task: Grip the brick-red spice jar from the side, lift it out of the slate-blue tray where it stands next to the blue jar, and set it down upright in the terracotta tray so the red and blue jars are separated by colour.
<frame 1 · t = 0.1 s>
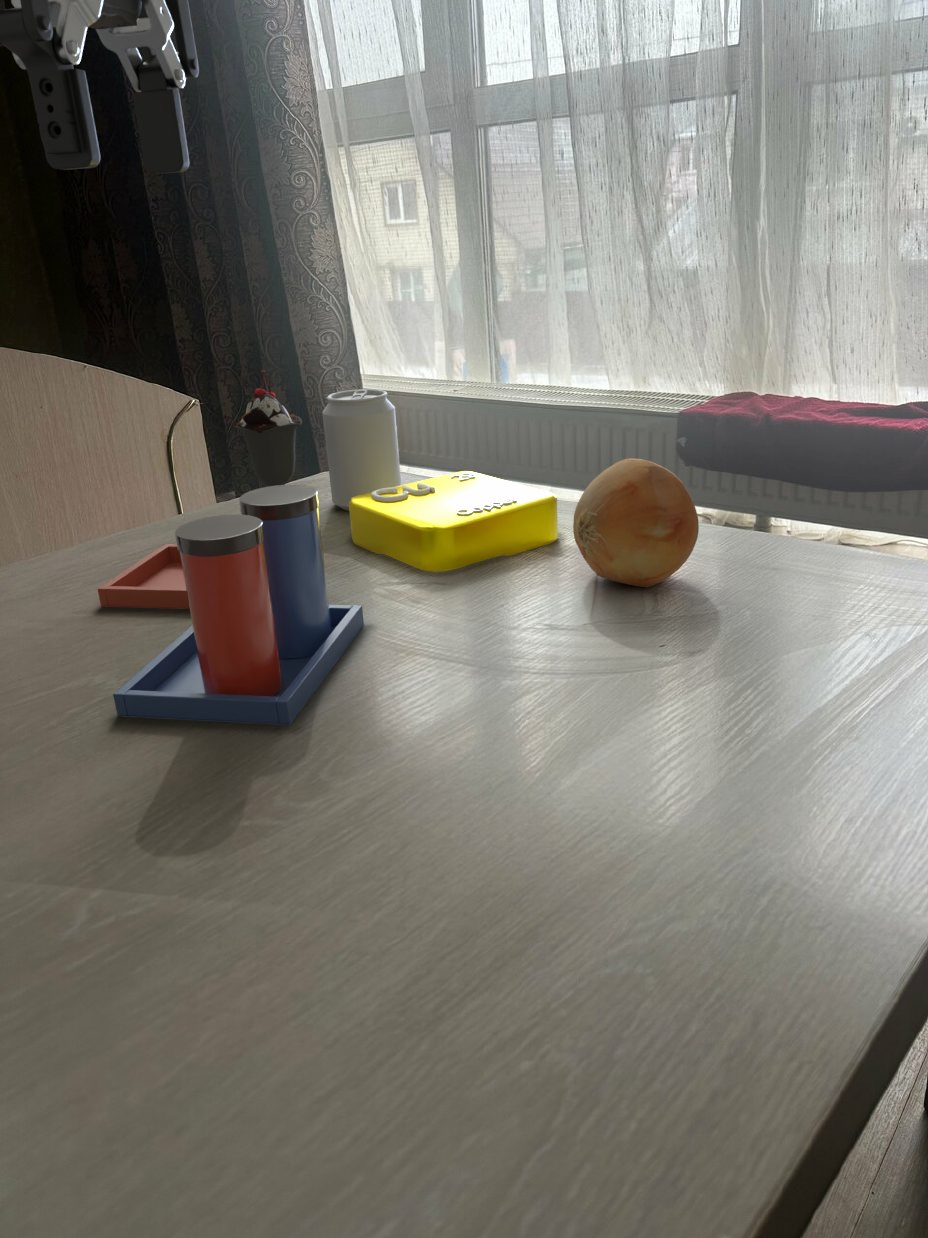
hand: (125, 170, 46), 31 cm above the table, tool pointing down, fingers open, 8 cm apart
blue tray: (252, 673, 66), on the table
red tray: (203, 589, 82), on the table
sundae: (281, 520, 101), on the table
onion: (633, 584, 78), on the table
blue jar: (298, 644, 69), point 1 cm above the table, touching blue tray
can: (368, 507, 104), on the table
red jar: (244, 689, 63), point 1 cm above the table, touching blue tray
element tile: (454, 543, 91), on the table
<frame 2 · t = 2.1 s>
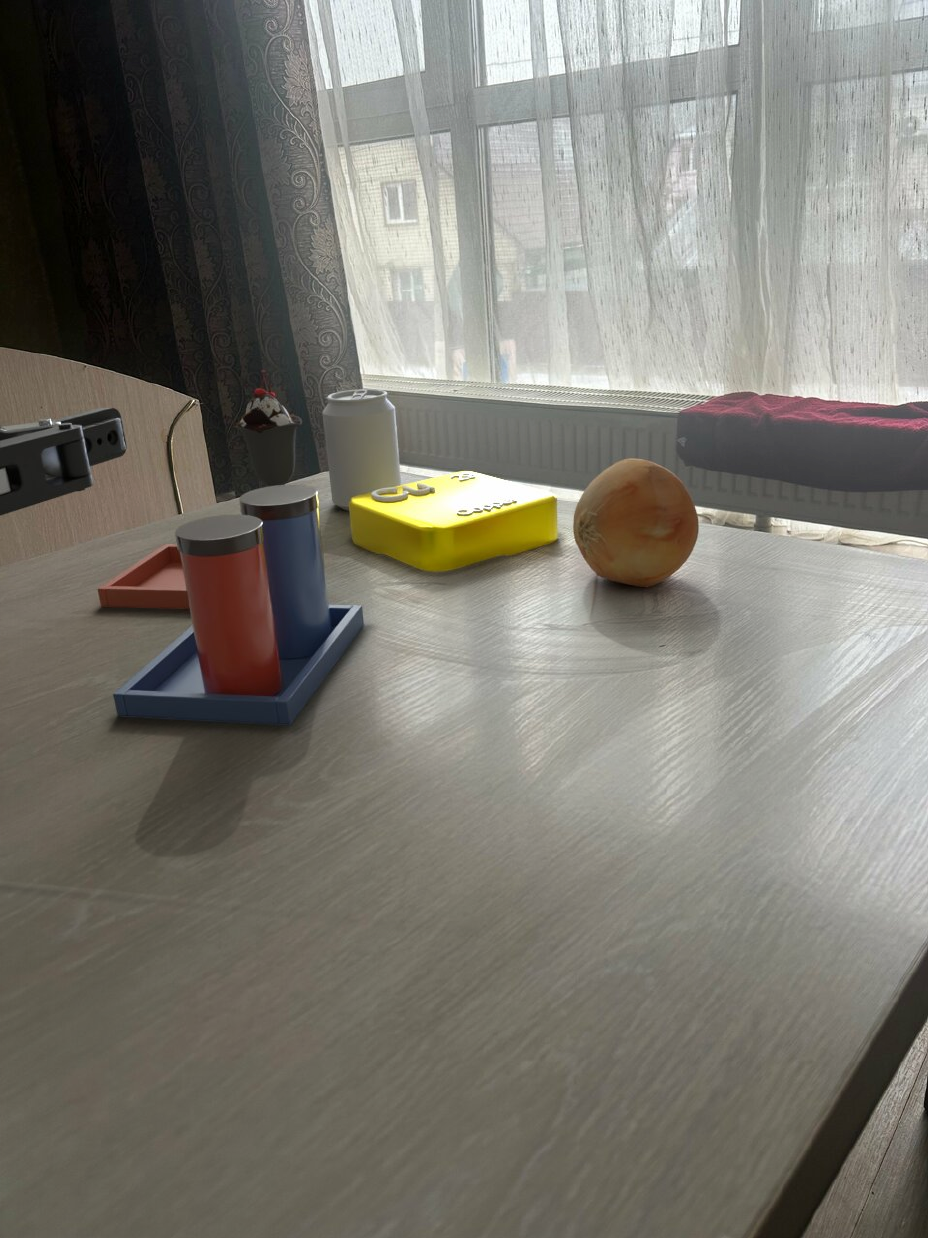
hand: (49, 427, 46), 20 cm above the table, tool horizontal, fingers open, 8 cm apart
nothing on the table moved.
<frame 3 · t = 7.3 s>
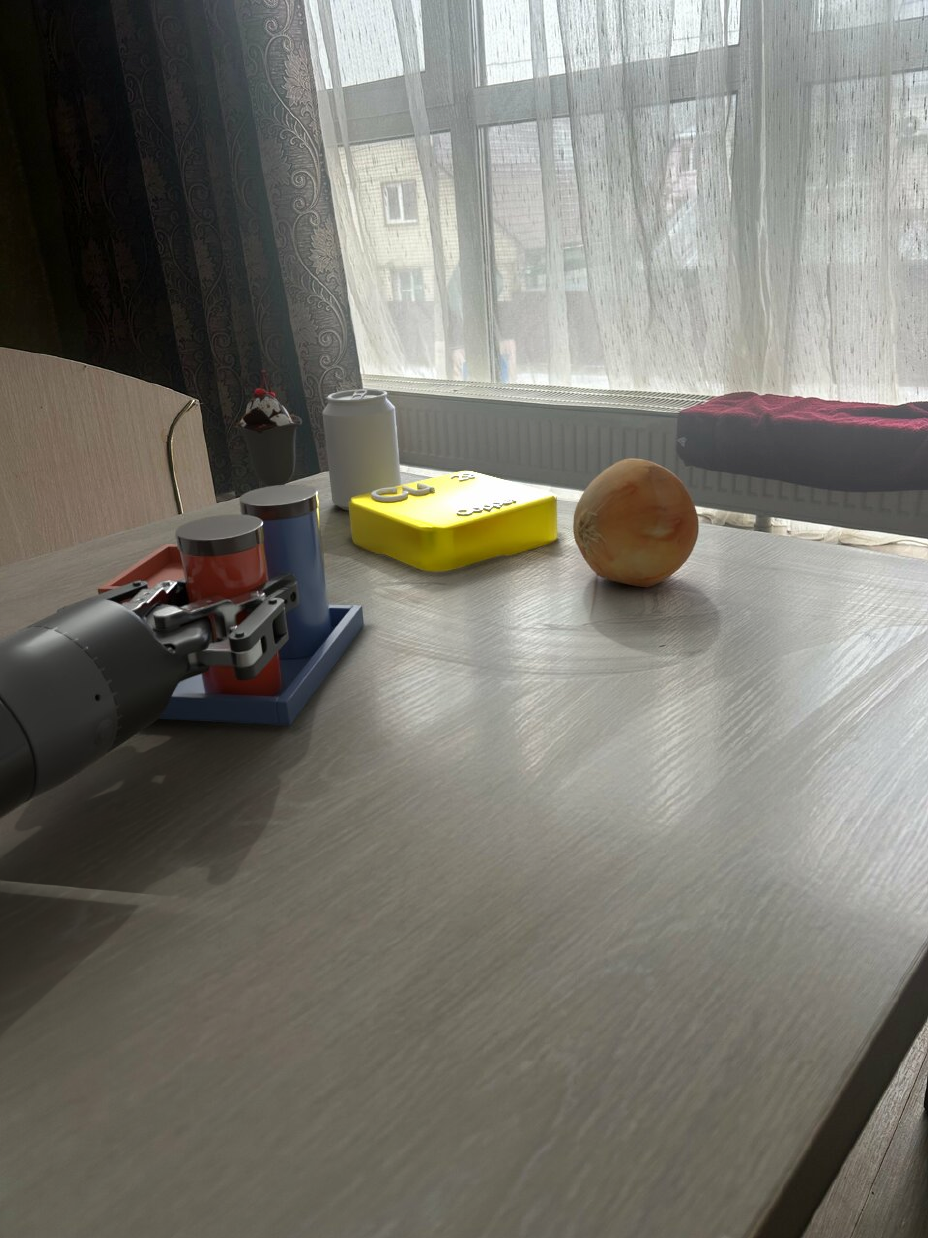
hand: (254, 583, 62), 7 cm above the table, tool horizontal, fingers closed on red jar, 5 cm apart
red jar: (244, 689, 63), point 1 cm above the table, touching blue tray, gripper
everything else where it was.
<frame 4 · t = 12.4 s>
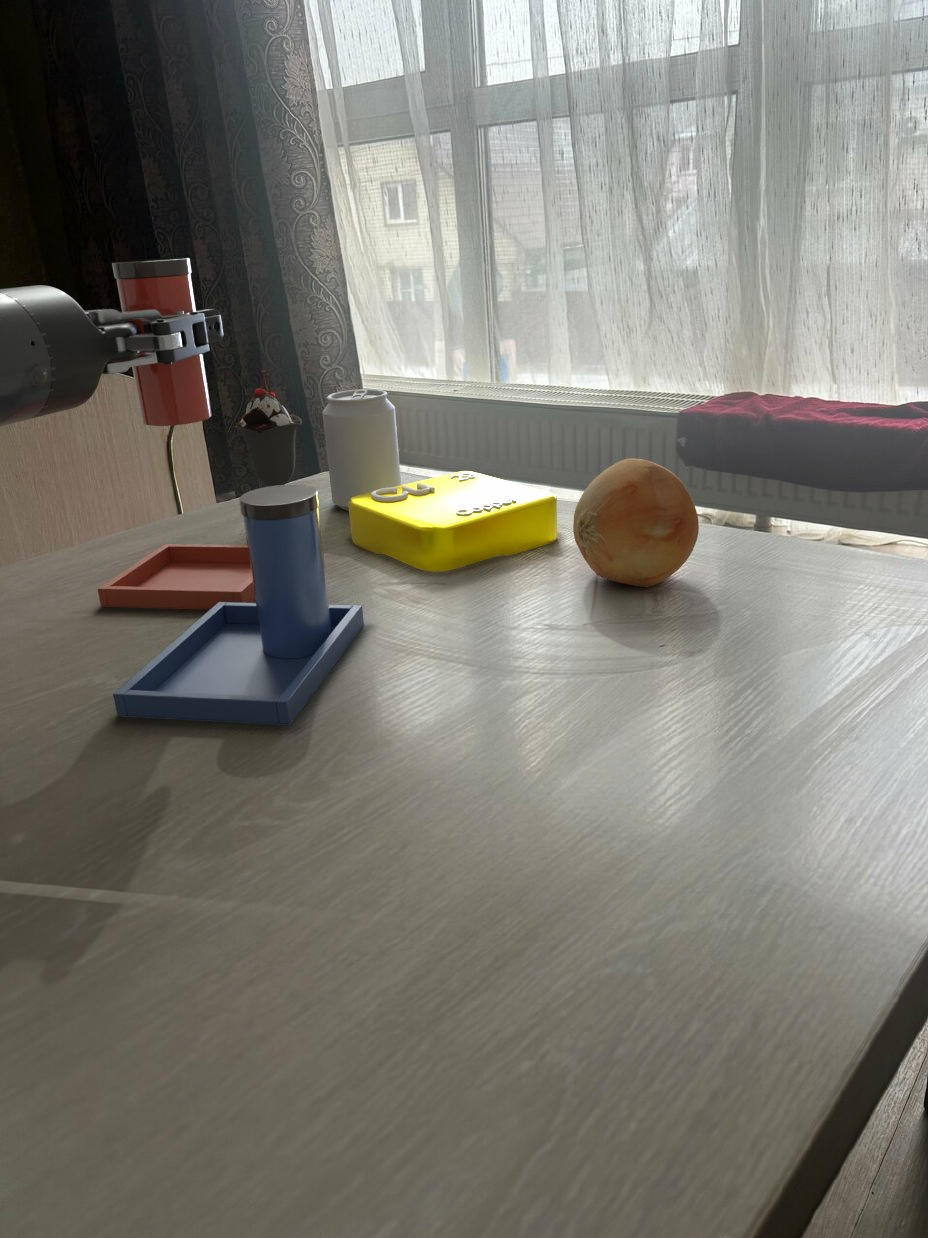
hand: (185, 324, 71), 22 cm above the table, tool horizontal, fingers closed on red jar, 5 cm apart
red jar: (177, 419, 71), point 15 cm above the table, touching gripper
everything else where it was.
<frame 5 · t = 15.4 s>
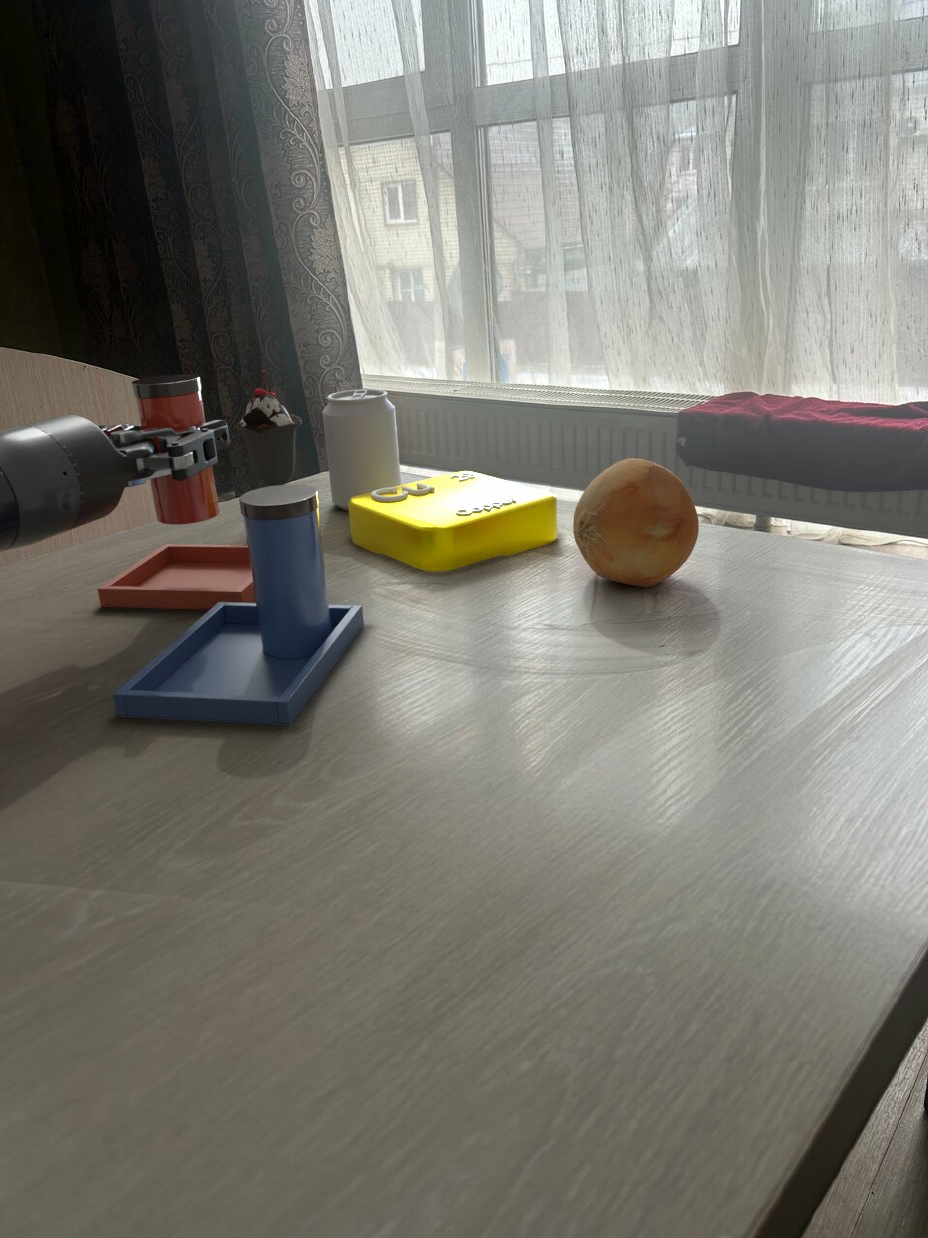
hand: (196, 431, 79), 13 cm above the table, tool horizontal, fingers closed on red jar, 5 cm apart
red jar: (188, 516, 79), point 7 cm above the table, touching gripper
everything else where it was.
when the fingers open (7 cm above the table, at t = 17.6 s): red jar stays where it is, resting on red tray.
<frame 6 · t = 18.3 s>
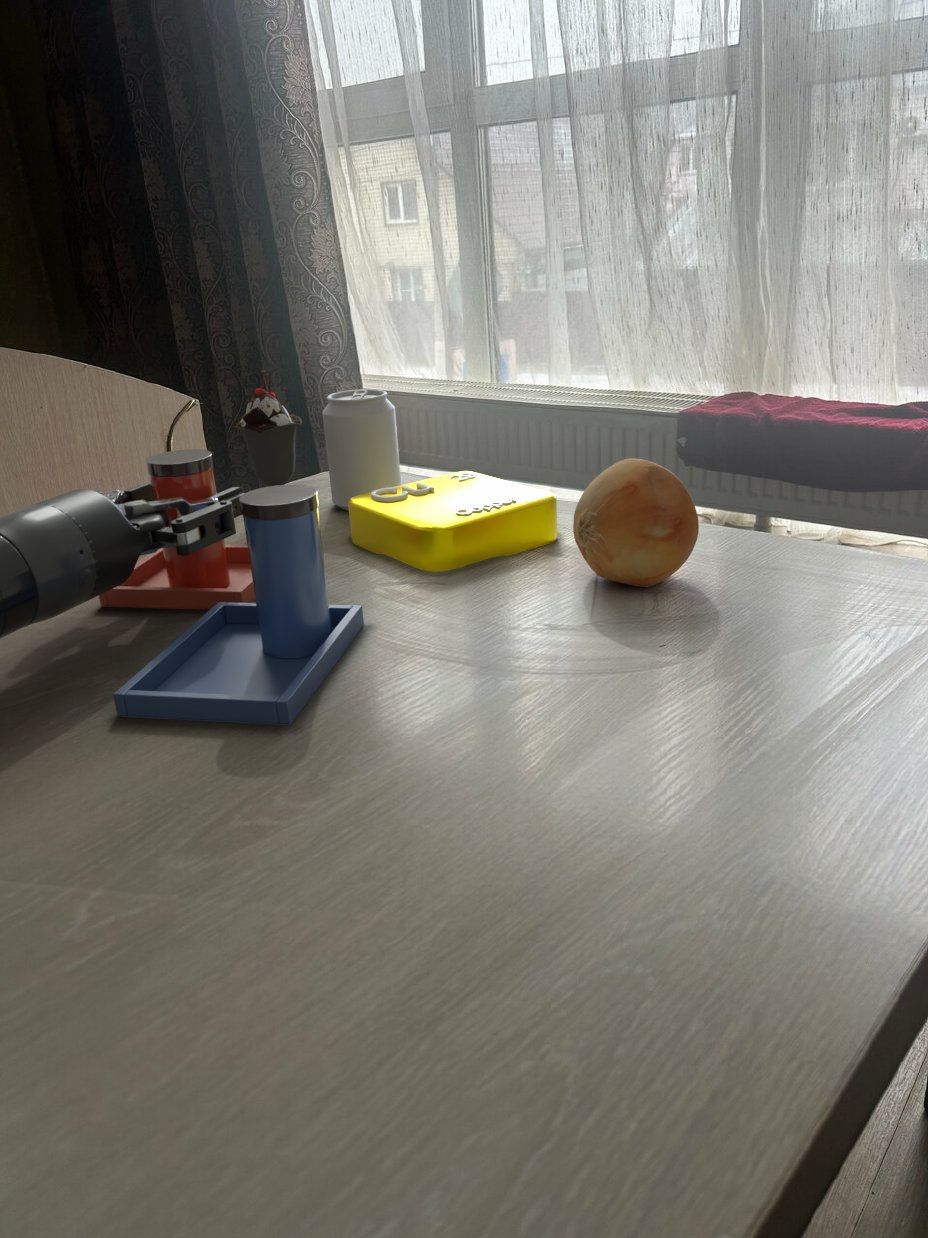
hand: (199, 495, 80), 8 cm above the table, tool horizontal, fingers open, 8 cm apart
red jar: (200, 585, 82), point 1 cm above the table, touching red tray
everything else where it was.
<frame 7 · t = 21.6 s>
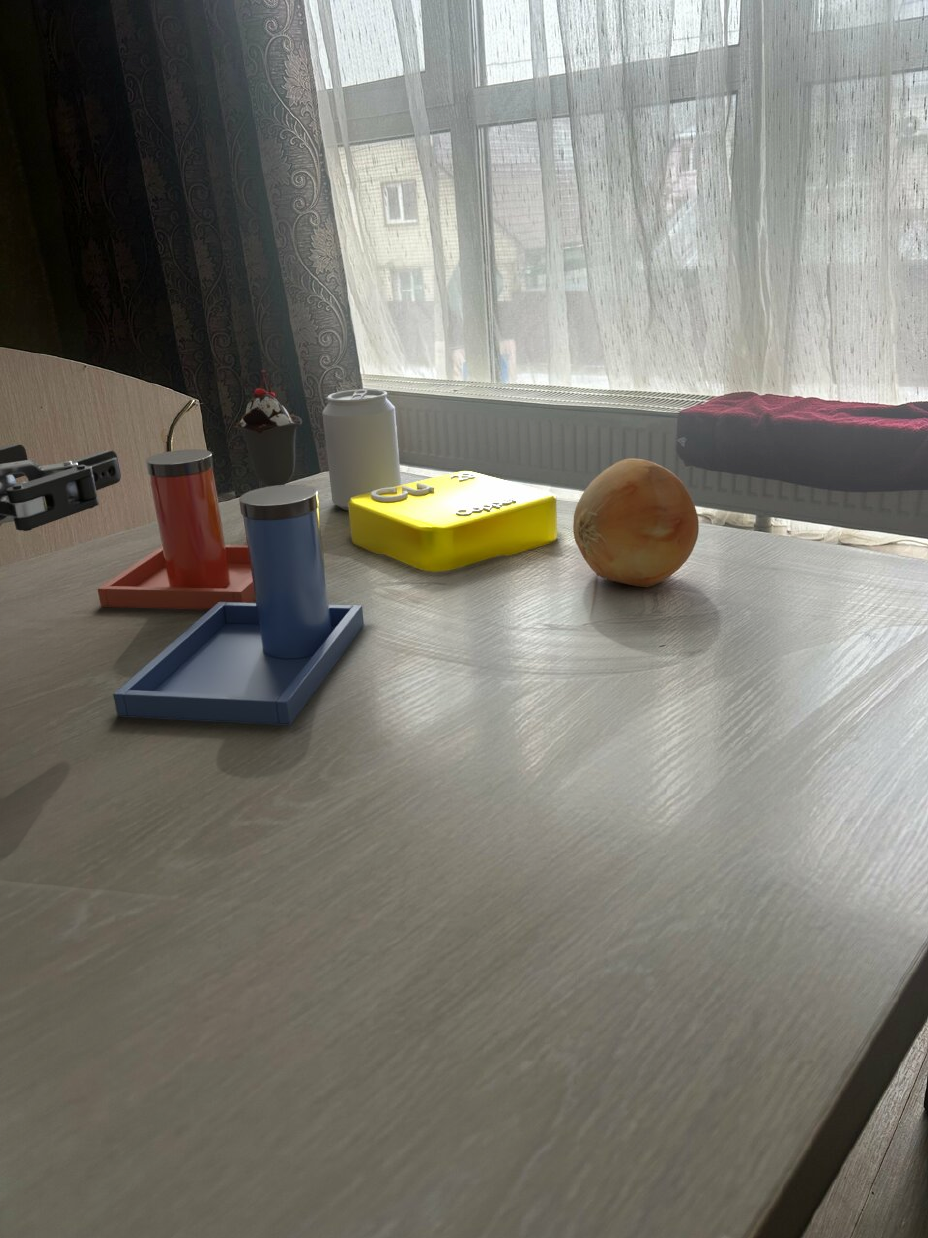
hand: (68, 461, 68), 14 cm above the table, tool horizontal, fingers open, 8 cm apart
nothing on the table moved.
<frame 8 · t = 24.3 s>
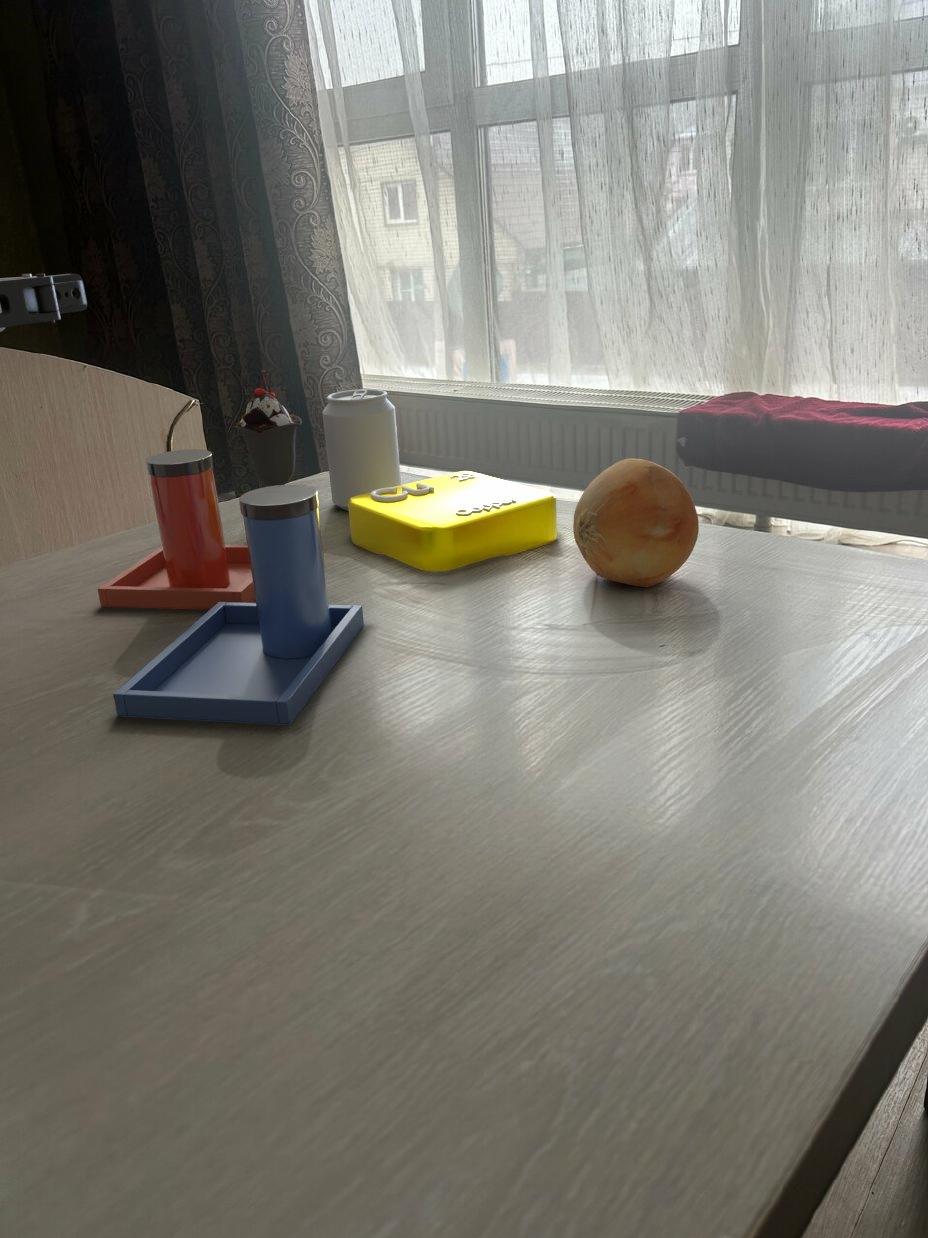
hand: (31, 293, 63), 25 cm above the table, tool horizontal, fingers open, 8 cm apart
nothing on the table moved.
at the end: red jar inside the target area in the red tray (0.6 cm from its centre), point 0.6 cm above the red tray's base; red jar tilted 0°; blue jar inside the target area in the blue tray (4.2 cm from its centre), point 0.6 cm above the blue tray's base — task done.
